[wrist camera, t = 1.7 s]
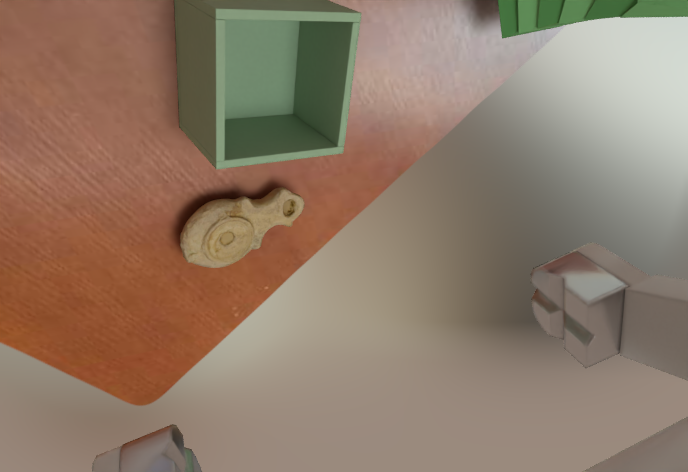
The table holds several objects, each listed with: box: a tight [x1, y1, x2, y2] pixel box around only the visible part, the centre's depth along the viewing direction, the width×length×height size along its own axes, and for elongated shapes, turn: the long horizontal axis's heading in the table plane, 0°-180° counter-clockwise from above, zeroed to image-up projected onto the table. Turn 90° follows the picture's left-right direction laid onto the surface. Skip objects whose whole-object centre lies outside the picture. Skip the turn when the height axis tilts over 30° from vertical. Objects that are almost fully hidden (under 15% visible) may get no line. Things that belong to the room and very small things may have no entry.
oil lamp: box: [180, 187, 304, 268], centre depth 62 cm, size 11×14×5 cm
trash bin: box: [174, 0, 361, 169], centre depth 51 cm, size 14×14×11 cm
